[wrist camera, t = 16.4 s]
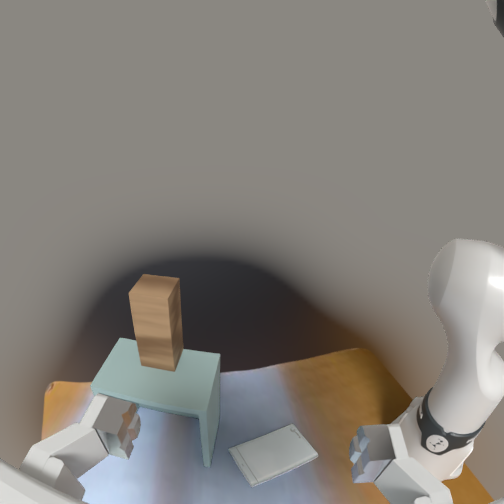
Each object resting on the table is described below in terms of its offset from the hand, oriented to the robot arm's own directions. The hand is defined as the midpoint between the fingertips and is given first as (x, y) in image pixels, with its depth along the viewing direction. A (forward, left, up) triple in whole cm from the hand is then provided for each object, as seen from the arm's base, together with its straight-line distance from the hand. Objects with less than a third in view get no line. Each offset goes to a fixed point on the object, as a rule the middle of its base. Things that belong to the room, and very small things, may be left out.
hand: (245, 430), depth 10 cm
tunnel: (-8, -25, -38) cm, 46 cm away
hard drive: (-19, -10, -39) cm, 44 cm away
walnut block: (-10, -27, -22) cm, 36 cm away
